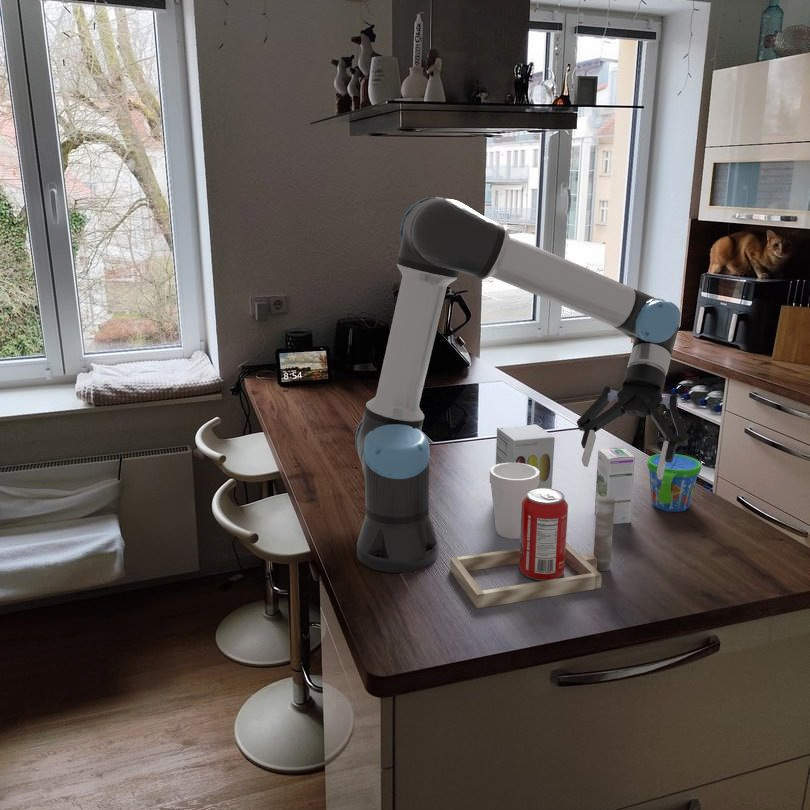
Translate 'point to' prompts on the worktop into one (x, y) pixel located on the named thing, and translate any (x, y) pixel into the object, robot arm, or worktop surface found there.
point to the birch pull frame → (582, 582)
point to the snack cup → (673, 482)
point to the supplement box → (527, 449)
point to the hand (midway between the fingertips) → (621, 469)
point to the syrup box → (616, 481)
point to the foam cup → (511, 495)
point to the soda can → (543, 534)
